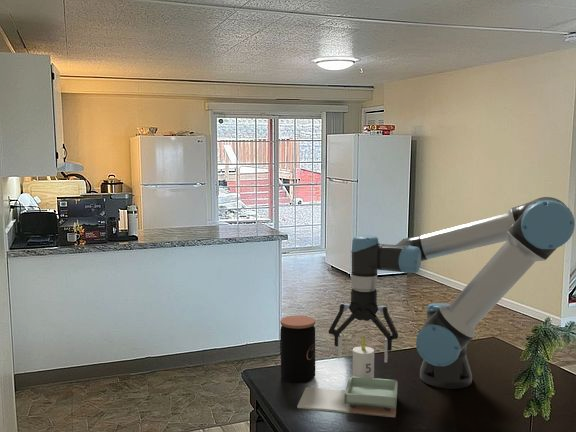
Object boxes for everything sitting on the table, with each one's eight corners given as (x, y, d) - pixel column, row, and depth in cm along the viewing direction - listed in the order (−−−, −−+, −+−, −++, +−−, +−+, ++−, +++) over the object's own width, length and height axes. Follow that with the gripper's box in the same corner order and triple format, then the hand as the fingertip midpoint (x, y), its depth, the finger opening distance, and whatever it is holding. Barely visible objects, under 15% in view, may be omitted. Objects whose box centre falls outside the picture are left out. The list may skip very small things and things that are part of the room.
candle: (358, 390, 157) (359, 339, 156) (348, 381, 163) (349, 333, 162) (378, 387, 159) (378, 337, 158) (367, 378, 165) (368, 330, 164)
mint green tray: (397, 394, 152) (397, 380, 152) (396, 414, 140) (396, 398, 140) (349, 390, 155) (349, 376, 155) (344, 409, 143) (344, 394, 143)
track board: (396, 396, 153) (397, 395, 153) (395, 417, 140) (395, 415, 140) (306, 388, 158) (306, 387, 158) (297, 407, 146) (297, 406, 146)
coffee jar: (312, 385, 160) (312, 326, 159) (277, 383, 163) (276, 324, 161) (317, 372, 171) (317, 316, 169) (284, 369, 173) (284, 314, 171)
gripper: (407, 288, 159) (405, 357, 161) (323, 283, 165) (322, 350, 167) (407, 294, 152) (405, 367, 154) (319, 289, 157) (318, 359, 160)
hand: (362, 359), depth 161 cm, fingers open, 13 cm apart
